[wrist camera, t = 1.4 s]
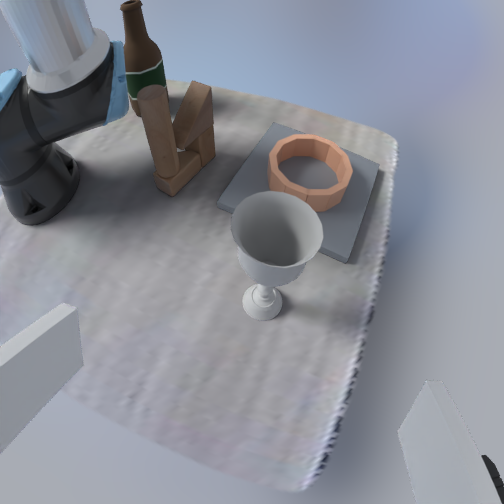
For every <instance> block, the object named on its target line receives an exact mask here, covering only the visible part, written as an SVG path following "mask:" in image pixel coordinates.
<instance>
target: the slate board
mask: <svg viewBox="0 0 504 504" xmlns="http://www.w3.org/2000/svg"><path fill="white" fill-rule="evenodd" d="M295 134H305V133H302V132H300V131H297V130H294V129H292V128H289V127H286V126H283V125H280V124H277V123H274V122H273V124H272V125H271V126H270V128H269V129H268V131H267V132H266V133H265V135H264V136H263V137H262V139H261V140H260V141H259V143H258V144H257V146H256V147H255V148H254V150H253V151H252V152H251V154H250V155H249V157H248V158H247V159H246V161H245V162H244V164H243V165H242V166H241V168H240V169H239V171H238V172H237V174H236V175H235V176H234V178H233V179H232V181H231V182H230V184H229V185H228V186H227V188H226V189H225V191H224V192H223V194H222V195H221V197H220V198H219V199H218V201H217V205H218V208H220V209H223V210H225V211H227V212H230V213H232V214H233V213H234V211H235V209H236V207H237V206H238V205H239V204H240V203H241V202H242V201H243V200H244V199H245V198H247V197H249V196H251V195H253V194H256V193H260V192H266V191H271V190H270V189H269V183H268V175H267V169H268V160H269V153H270V152H271V150H272V149H273V148H274V146H275V145H276V143H277V142H278V141H279V140H282V139H284V138H286V137H289V136H291V135H295ZM339 148H340V149H342V150H343V151H344V152H345V153H346V154H347V156H348V158H349V161H350V164H351V167H352V170H353V172H352V175H351V178H350V180H349V183H348V185H347V188H346V190H345V192H344V195H343V197H342V199H341V202H340V203H338V204H337V205H335V206H333V207H332V208H330V209H328V210H326V211H324V212H316V213H317V216H318V218H319V220H320V222H321V224H322V229H323V240H322V243H321V247H320V249H319V250H318V251H319V252H321V253H323V254H325V255H328V256H330V257H332V258H334V259H336V260H339V261H341V262H343V263H346V262H347V260H348V259H349V256H350V253H351V251H352V248H353V245H354V242H355V239H356V236H357V234H358V231H359V228H360V225H361V222H362V219H363V216H364V213H365V210H366V207H367V204H368V201H369V198H370V195H371V191H372V188H373V185H374V182H375V179H376V175H377V172H378V169H379V165H380V164H377V163H375V162H373V161H371V160H368V159H366V158H364V157H362V156H359V155H357V154H355V153H352V152H350V151H348V150H345V149H343V148H341V147H339ZM278 169H279V170H280V171H281V172H282V173H283V174H284V176H285V177H286V178H287V179H288V180H289V181H290V182H292V183H295V184H297V185H300V186H302V187H304V188H307V189H329V188H331V187H332V186H334V185H336V184H338V183H339V182H338V179H337V175H336V173H335V172H334V171H333V170H332V169H331V168H330V167H329V166H328V165H327V164H326V163H325V162H323V161H320V160H318V159H315V158H313V157H310V156H293V157H291V158H289V159H287V160H284V161H282V162H280V164H279V166H278Z"/></svg>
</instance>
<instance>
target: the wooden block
mask: <svg viewBox="0 0 504 504" xmlns="http://www.w3.org/2000/svg"><path fill="white" fill-rule="evenodd" d="M137 101H138V105H139V109H140V113H141V117H142V120H143V124H144V128H145V132H146V135H147V139H148V143H149V146H150V150H151V153H152V157H153V160H154V164H155V167H156V171H155V172H154V173H153V176H154V180H155V183H156V186H157V188H158V189H160V190H162V191H163V192H165V193H167V194H168V195H170V196H171V197H173V196H174V195H175V194H176V193H177V192H178V191H179V190H180V189H181V188H182V187H183V186H184V185H185V184H186V183H187V182H189V181H190V180H191V179H192V178H193V177H194V176H195V175H196V174H197V173H198V172H199V171H200V170H201V168H203V167H204V166H205V165H206V164H207V163H208V162H209V161H210V160H212V159H213V158H214V157H215V143H214V128H213V124H214V122H213V106H212V90H211V87H210V86H207V85H204V84H202V83H198V82H196V81H192V82H191V84H190V86H189V88H188V90H187V92H186V94H185V97H184V99H183V101H182V103H181V105H180V108H179V110H178V112H177V114H176V117H175V119H174V121H173V124H172V121H171V115H170V110H169V104H168V99H167V93H166V89H165V88H164V87H163V86H161V85H150V86H147V87H144V88H143V89H141V90H140V91H139V92H138V94H137ZM177 148H179V149H181V150H184V149H185V151H181V152H177Z"/></svg>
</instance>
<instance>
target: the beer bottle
mask: <svg viewBox="0 0 504 504" xmlns="http://www.w3.org/2000/svg"><path fill="white" fill-rule="evenodd" d="M141 6H142V3H141V1H140V0H130V1H127V2H125V3H123V4H122V5H121V8H120V10H121V11H123V20H124V28H125V45H124V47H123V49H124V59H125V71H126V81H127V90H128V95H129V98H130V102H131V105H132V108H133V110H134V111H135V113H136V115H137V116H141V113H140V109H139V105H138V101H137V94H138V92H139V91H140V90H141V89H143V88H144V87H147V86H150V85H161V86H163V87H164V88H165V89H166V93H167V99H168V103H169V98H168V91H167V85H166V79H165V74H164V66H163V60H162V55H161V52H160V50H159V48H158V46H157V45H156V44H155V43H154V42H153V41H152V40H151V39H150V38H149V36H148V34H147V31H146V27H145V22H144V18H143V14H142V9H141Z"/></svg>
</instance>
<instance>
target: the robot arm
mask: <svg viewBox="0 0 504 504" xmlns="http://www.w3.org/2000/svg"><path fill="white" fill-rule="evenodd" d="M0 10H1V12H2V13H3V16H4V17H5V19H6V21H7V23H8V25H9V27H10V29H11V31H12V32H13V34H14V36H15V38H16V40H17V42H18V44H19V45H20V47H21V49H22V51H23V53H24V54H25V56H26V58H27V60H28V61H29V63H30V65H29V67H28V69H27V74H26V76H22V72H21V71H19V70H18V69H16V68H14V69H10V70H8V71H6V72H4V73H2V74H0V185H1V188H2V191H3V194H4V197H5V200H6V203H7V206H8V209H9V211H10V212H11V214H12V215H13V216H14V217H15V218H16V219H17V220H18V221H19V222H20V223H23V224H26V225H34V224H38V223H41V222H44V221H46V220H48V219H50V218H51V217H53V216H54V215H56V214H57V213H58V212H59V211H60V210H62V209H63V208H64V207H65V205H66V204H67V203H68V202H69V201H70V199H71V198H72V196H73V195H74V193H75V191H76V189H77V186H78V183H79V177H80V173H79V168H78V166H77V164H76V162H75V160H74V159H73V157H72V156H71V155H70V154H69V153H68V152H66V151H65V150H64V149H63V148H61V147H60V146H59V145H58V144H56V143H55V142H56V141H59V140H62V139H64V138H67V137H70V136H73V135H76V134H79V133H82V132H85V131H88V130H91V129H94V128H97V127H100V126H105V125H107V124H108V123H110V122H112V121H115V120H118V119H120V118H122V117H124V116H125V115H126V114H127V112H128V110H129V100H128V90H127V81H126V71H125V59H124V49H123V43H122V42H121V41H111V42H110V41H109V38H108V36H107V34H106V33H105V32H104V31H102V30H101V29H98V28H93V27H92V25H91V22H90V18H89V15H88V12H87V8H86V5H85V2H84V0H0ZM83 365H84V363H83V356H82V348H81V340H80V330H79V320H78V308H76V307H73V306H71V305H68V304H65V303H62V304H60V305H59V306H57V307H56V308H54V309H53V310H51V311H50V312H48V313H47V314H45V315H44V316H42V317H41V318H40V319H38V320H37V321H35V322H34V323H32V324H31V325H29V326H28V327H27V328H25V329H24V330H22V331H21V332H19V333H18V334H17V335H15V336H14V337H12V338H11V339H10V340H8V341H7V342H6V343H4V344H3V345H1V346H0V454H1V453H2V452H3V451H4V449H6V447H7V446H8V445H9V444H10V443H11V442H12V441H13V440H14V439H15V437H16V436H17V435H18V434H19V433H20V432H21V431H22V430H23V429H24V428H25V427H26V425H27V424H28V423H29V422H30V421H31V420H32V419H33V418H34V417H35V416H36V415H37V414H38V412H39V411H40V410H41V409H42V408H43V407H44V406H45V405H46V404H47V403H48V402H49V401H50V400H51V399H52V398H53V396H54V395H55V394H56V393H57V392H58V391H59V390H60V389H61V388H62V387H63V386H64V385H65V384H66V383H67V382H68V381H69V380H70V379H71V378H72V377H73V376H74V375H75V374H76V373H77V372H78V371H79V369H80V368H81V367H82V366H83ZM397 434H398V437H399V441H400V444H401V448H402V451H403V455H404V458H405V462H406V466H407V470H408V473H409V477H410V481H411V485H412V489H413V493H414V497H415V501H416V504H504V487H503V486H504V484H503V481H502V479H501V478H500V475H499V472H498V471H497V468H496V466H495V464H494V463H493V462H492V461H491V460H490V459H489V458H488V457H487V456H486V455H482V456H481V455H480V453H479V451H478V448H477V446H476V444H475V442H474V440H473V438H472V436H471V434H470V432H469V430H468V428H467V426H466V424H465V422H464V421H463V418H462V416H461V415H460V413H459V411H458V409H457V407H456V405H455V403H454V401H453V400H452V398H451V396H450V394H449V392H448V390H447V389H446V387H445V385H444V383H443V382H442V381H434V380H426V381H425V383H424V385H423V387H422V389H421V390H420V393H419V394H418V396H417V398H416V400H415V402H414V403H413V405H412V407H411V409H410V411H409V412H408V414H407V416H406V418H405V419H404V421H403V423H402V424H401V426H400V428H399V429H398V431H397Z"/></svg>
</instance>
